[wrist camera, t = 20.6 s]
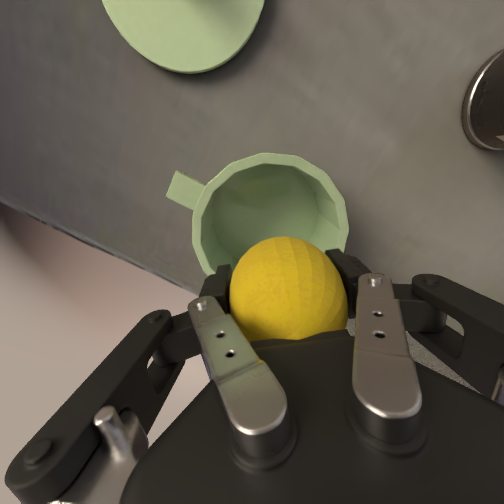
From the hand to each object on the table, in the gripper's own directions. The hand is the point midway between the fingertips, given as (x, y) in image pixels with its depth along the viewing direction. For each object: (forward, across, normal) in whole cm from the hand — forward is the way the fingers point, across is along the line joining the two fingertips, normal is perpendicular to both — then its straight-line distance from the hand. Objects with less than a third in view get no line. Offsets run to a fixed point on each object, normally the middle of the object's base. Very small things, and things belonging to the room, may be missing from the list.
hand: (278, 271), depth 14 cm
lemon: (+2, 0, 0) cm, 2 cm away
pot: (+15, 0, 0) cm, 15 cm away
